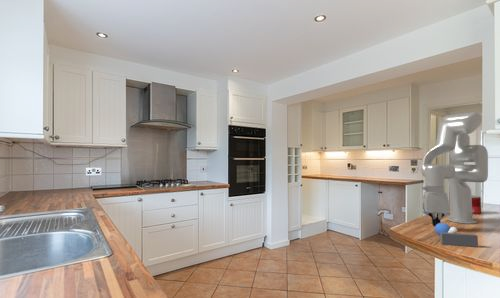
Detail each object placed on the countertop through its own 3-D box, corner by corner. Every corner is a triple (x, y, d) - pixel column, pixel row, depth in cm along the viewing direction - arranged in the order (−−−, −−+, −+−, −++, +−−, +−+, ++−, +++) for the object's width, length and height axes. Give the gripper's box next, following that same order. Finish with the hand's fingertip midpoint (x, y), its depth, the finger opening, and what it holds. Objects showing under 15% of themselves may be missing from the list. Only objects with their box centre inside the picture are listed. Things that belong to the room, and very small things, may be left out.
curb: (440, 242, 106) (439, 232, 106) (475, 245, 102) (474, 234, 103) (442, 244, 104) (441, 233, 104) (478, 247, 101) (477, 235, 101)
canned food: (484, 214, 156) (483, 196, 156) (469, 214, 158) (468, 196, 158) (476, 212, 163) (475, 195, 164) (461, 211, 165) (461, 194, 165)
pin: (447, 232, 112) (451, 225, 106) (453, 236, 111) (458, 229, 105) (445, 237, 112) (449, 230, 106) (451, 240, 110) (455, 233, 104)
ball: (447, 240, 111) (443, 239, 116) (456, 229, 111) (452, 229, 116) (433, 230, 114) (430, 229, 119) (442, 220, 113) (439, 219, 119)
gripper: (419, 190, 125) (421, 227, 124) (456, 190, 120) (458, 230, 119) (415, 188, 132) (416, 224, 131) (449, 189, 127) (451, 225, 127)
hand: (436, 226), depth 125 cm, fingers closed
